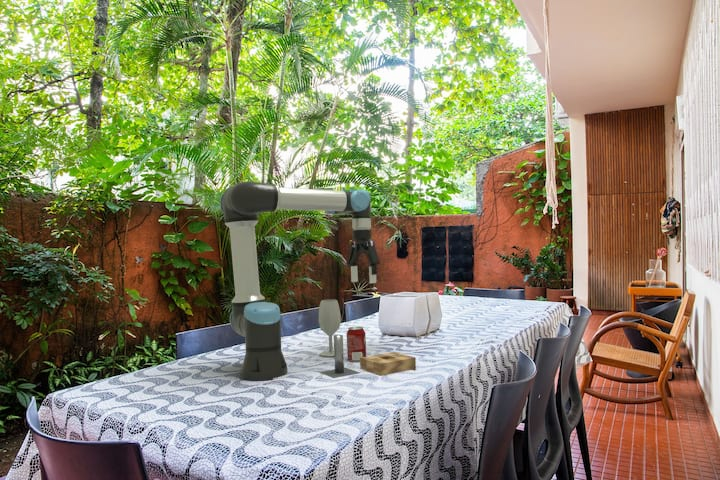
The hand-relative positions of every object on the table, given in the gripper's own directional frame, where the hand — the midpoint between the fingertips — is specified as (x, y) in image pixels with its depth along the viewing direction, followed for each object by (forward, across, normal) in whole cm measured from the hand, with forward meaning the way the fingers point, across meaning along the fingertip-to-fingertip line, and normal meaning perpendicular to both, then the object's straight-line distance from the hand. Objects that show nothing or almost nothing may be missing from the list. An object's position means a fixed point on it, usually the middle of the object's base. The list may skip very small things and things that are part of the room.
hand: (363, 282), depth 201 cm
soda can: (+27, -14, +13) cm, 34 cm away
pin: (+27, -26, +27) cm, 46 cm away
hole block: (+27, -32, +12) cm, 44 cm away
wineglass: (+27, +2, +15) cm, 31 cm away
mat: (+27, -26, +27) cm, 47 cm away
